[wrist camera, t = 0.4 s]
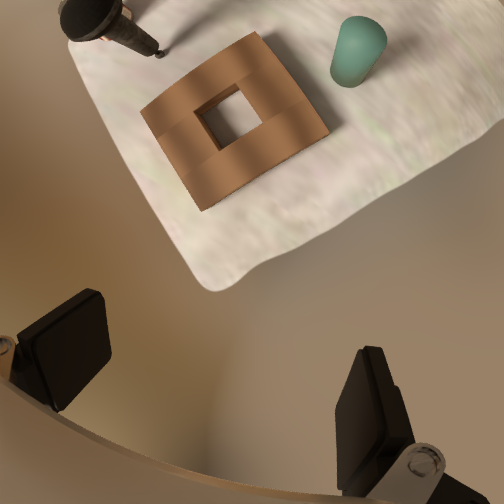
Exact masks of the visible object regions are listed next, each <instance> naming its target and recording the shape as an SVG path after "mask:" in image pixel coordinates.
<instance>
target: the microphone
mask: <svg viewBox="0 0 504 504" xmlns="http://www.w3.org/2000/svg"><path fill="white" fill-rule="evenodd" d="M122 10H123V3H122V0H67V2H66V3H65V5H64V6H63V9H62V12H61V15H60V24H61V27H62V30H63V31H64V33H65V34H66V35H67V37H68V38H69V39H70V40H71V41H74V42H83V41H91V40H95V39H98V38H100V37H102V36H105V37H107V38H109V39H111V40H113V41H115V42H118V43H120V44H122V45H124V46H126V47H128V48H130V49H132V50H134V51H136V52H138V53H140V54H142V55H144V56H147V57H149V56H152V55H154V54H155V57H156V58H158V59H160V58H162V57H163V56H164V52H163V51H162V50H159V51H158V48H159V43H158V42H157V41H156V40H155V39H154V38H152V37H151V36H150V35H149V34H147V33H146V32H145V31H144V30H142V29H141V28H140V27H139V26H137V25H136V24H135V23H133V22H132V21H131V20H129V19H128V18H127V17H126V16H124V15H123V14H122Z"/></svg>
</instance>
